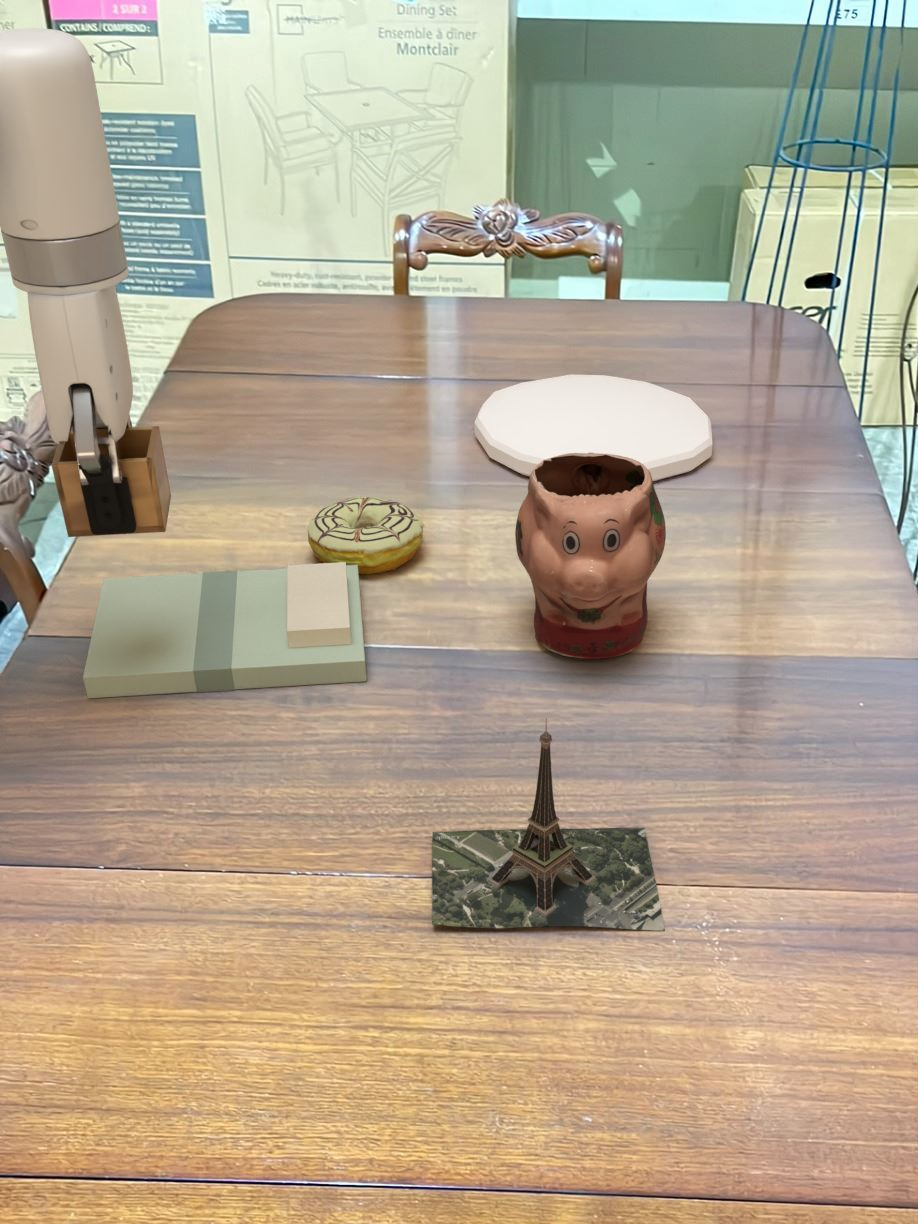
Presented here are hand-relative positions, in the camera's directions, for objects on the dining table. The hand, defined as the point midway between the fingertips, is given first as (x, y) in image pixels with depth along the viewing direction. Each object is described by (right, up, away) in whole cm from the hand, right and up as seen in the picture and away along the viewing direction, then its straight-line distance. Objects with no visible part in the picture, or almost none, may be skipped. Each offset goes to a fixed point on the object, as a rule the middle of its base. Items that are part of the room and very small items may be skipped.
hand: (118, 508), depth 101 cm
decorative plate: (+38, +20, +44) cm, 62 cm away
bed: (+6, -7, +13) cm, 16 cm away
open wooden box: (0, 0, 0) cm, 1 cm away
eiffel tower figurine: (+31, -28, -10) cm, 43 cm away
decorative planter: (+36, -6, +15) cm, 39 cm away
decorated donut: (+16, +3, +25) cm, 30 cm away
